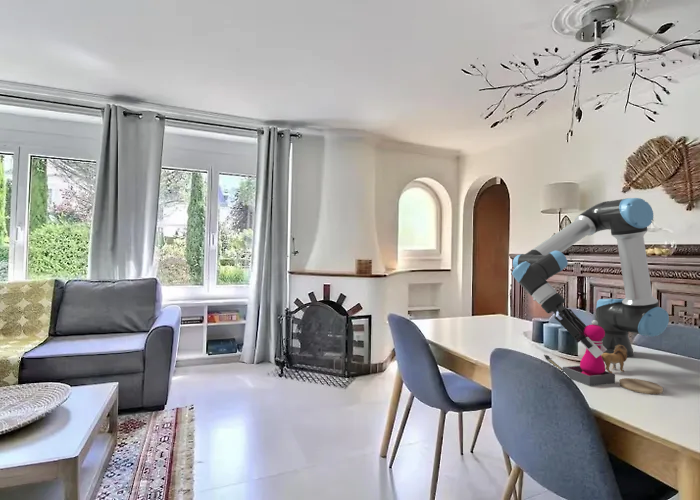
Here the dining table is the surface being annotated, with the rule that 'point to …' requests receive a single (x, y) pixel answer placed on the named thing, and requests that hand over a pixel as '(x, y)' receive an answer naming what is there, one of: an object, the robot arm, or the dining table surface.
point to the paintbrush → (552, 361)
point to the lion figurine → (615, 358)
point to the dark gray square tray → (593, 380)
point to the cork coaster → (641, 386)
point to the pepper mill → (588, 361)
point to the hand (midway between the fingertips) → (601, 353)
